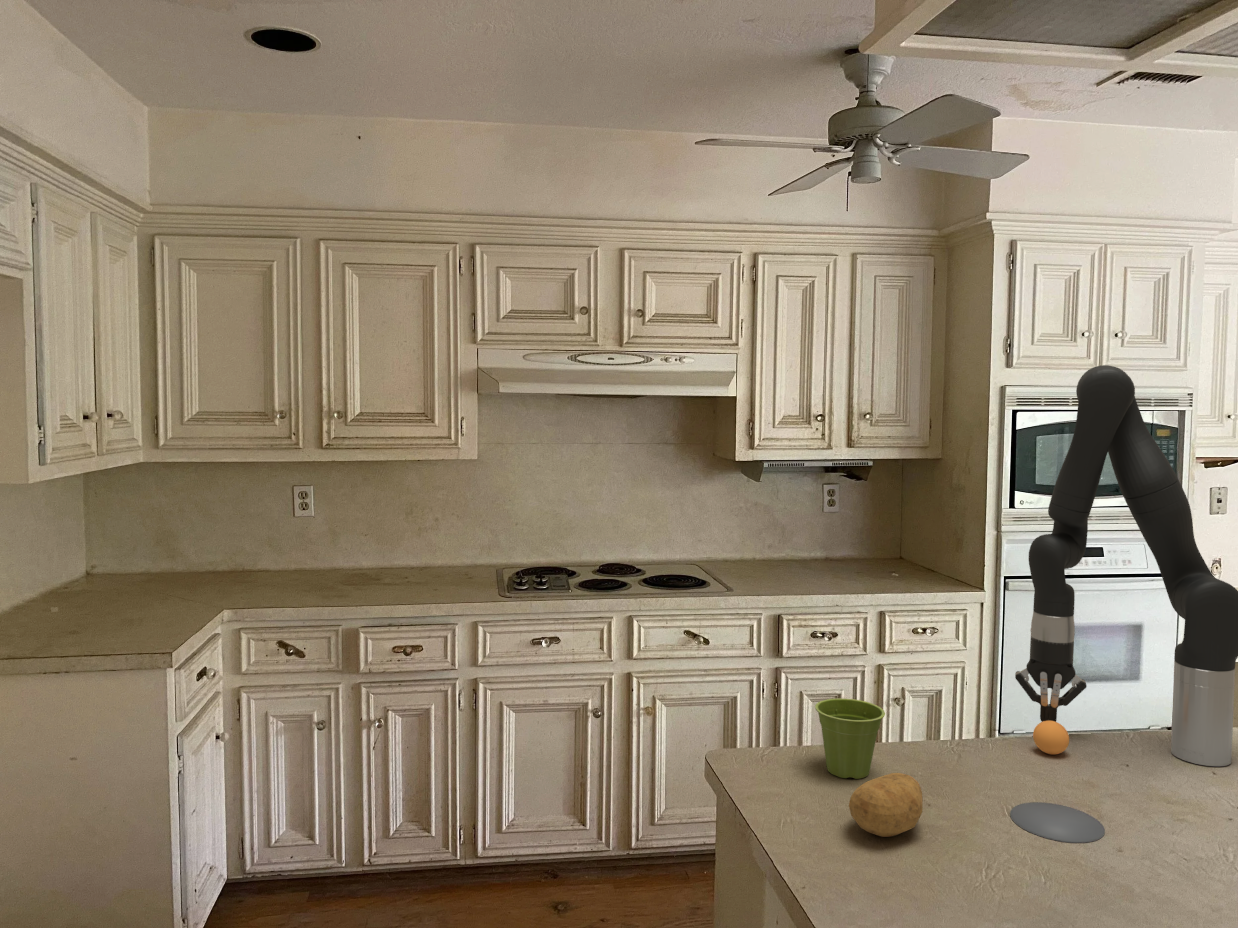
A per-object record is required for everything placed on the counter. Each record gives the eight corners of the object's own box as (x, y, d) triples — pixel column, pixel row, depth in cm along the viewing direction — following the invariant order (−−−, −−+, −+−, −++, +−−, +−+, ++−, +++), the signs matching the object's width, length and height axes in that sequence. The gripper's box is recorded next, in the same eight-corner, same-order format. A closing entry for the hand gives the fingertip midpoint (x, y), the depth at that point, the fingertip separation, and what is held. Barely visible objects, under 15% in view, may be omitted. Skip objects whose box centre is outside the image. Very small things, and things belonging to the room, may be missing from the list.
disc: (1039, 796, 144) (1039, 795, 144) (1121, 827, 133) (1121, 825, 133) (993, 816, 136) (993, 815, 136) (1075, 851, 126) (1075, 850, 126)
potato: (940, 825, 134) (941, 774, 133) (894, 858, 124) (895, 803, 123) (881, 805, 141) (882, 756, 140) (834, 834, 131) (834, 782, 130)
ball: (1043, 744, 166) (1044, 713, 166) (1075, 754, 161) (1076, 722, 161) (1026, 751, 163) (1026, 719, 162) (1057, 762, 158) (1058, 729, 157)
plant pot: (876, 791, 146) (877, 724, 145) (806, 777, 151) (806, 713, 151) (890, 765, 156) (891, 704, 156) (824, 753, 162) (825, 693, 161)
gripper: (1014, 636, 168) (1010, 724, 169) (1092, 645, 163) (1088, 736, 164) (1014, 627, 175) (1010, 712, 176) (1089, 635, 169) (1085, 723, 170)
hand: (1048, 724), depth 170 cm, fingers closed
